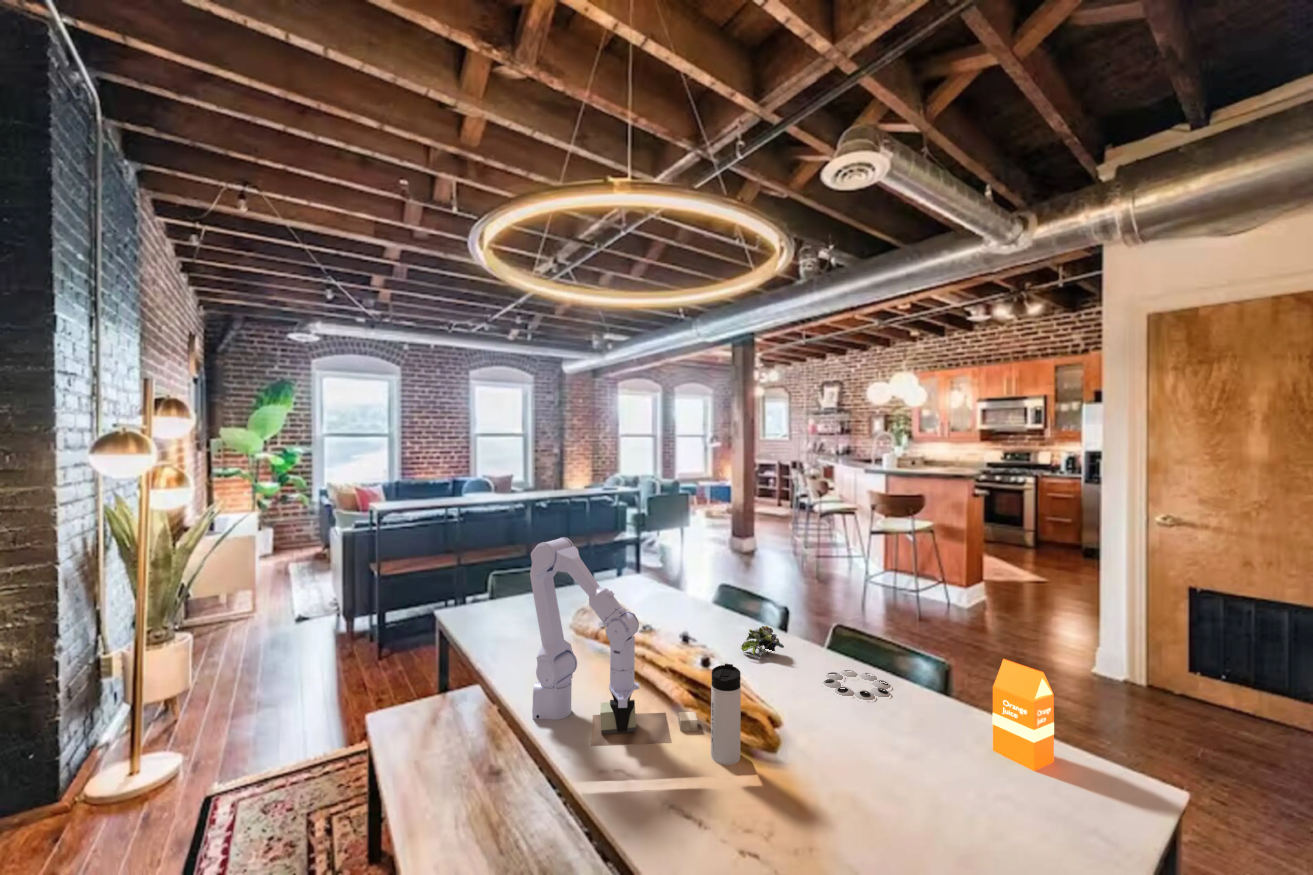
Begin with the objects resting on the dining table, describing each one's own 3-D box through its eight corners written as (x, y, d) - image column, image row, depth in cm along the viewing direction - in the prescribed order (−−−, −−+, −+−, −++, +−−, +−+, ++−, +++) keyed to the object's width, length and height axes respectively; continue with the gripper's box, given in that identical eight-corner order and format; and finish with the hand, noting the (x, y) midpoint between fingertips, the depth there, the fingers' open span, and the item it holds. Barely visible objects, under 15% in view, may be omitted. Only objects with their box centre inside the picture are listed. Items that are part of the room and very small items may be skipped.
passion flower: (767, 669, 183) (789, 641, 182) (758, 674, 173) (782, 645, 172) (741, 644, 188) (762, 616, 187) (731, 648, 178) (754, 619, 177)
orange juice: (1033, 771, 117) (1033, 675, 117) (992, 750, 125) (992, 661, 125) (1054, 761, 120) (1054, 669, 121) (1012, 742, 128) (1012, 655, 128)
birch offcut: (680, 720, 130) (697, 719, 130) (678, 712, 134) (694, 711, 134) (680, 737, 129) (697, 737, 130) (678, 728, 133) (694, 728, 134)
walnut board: (590, 752, 123) (590, 745, 123) (592, 720, 137) (592, 714, 137) (671, 749, 124) (671, 742, 124) (665, 718, 138) (665, 712, 138)
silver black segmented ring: (872, 711, 144) (872, 703, 144) (807, 686, 159) (807, 678, 159) (907, 689, 157) (906, 682, 157) (843, 668, 172) (843, 661, 172)
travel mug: (743, 757, 121) (743, 665, 122) (737, 774, 115) (737, 677, 115) (714, 751, 123) (715, 661, 124) (707, 768, 117) (708, 672, 117)
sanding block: (601, 734, 127) (600, 712, 128) (601, 723, 132) (600, 702, 133) (636, 731, 128) (635, 709, 128) (635, 720, 133) (634, 699, 133)
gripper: (640, 678, 124) (640, 740, 123) (637, 654, 138) (637, 709, 138) (609, 679, 123) (608, 741, 123) (609, 654, 138) (608, 710, 137)
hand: (621, 724), depth 130 cm, fingers open, 5 cm apart
